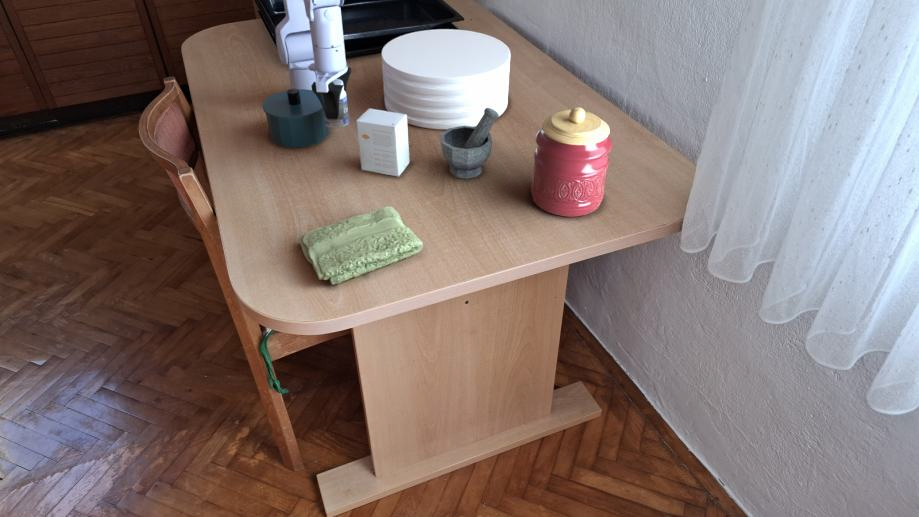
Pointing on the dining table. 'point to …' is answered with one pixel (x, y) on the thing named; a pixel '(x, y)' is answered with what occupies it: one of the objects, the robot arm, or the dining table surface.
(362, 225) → the washcloth
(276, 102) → the pot lid
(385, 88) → the plate stack
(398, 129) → the small box
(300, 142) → the pot
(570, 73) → the dining table surface
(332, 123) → the pill bottle
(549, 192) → the kitchen canister
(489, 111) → the mortar and pestle
